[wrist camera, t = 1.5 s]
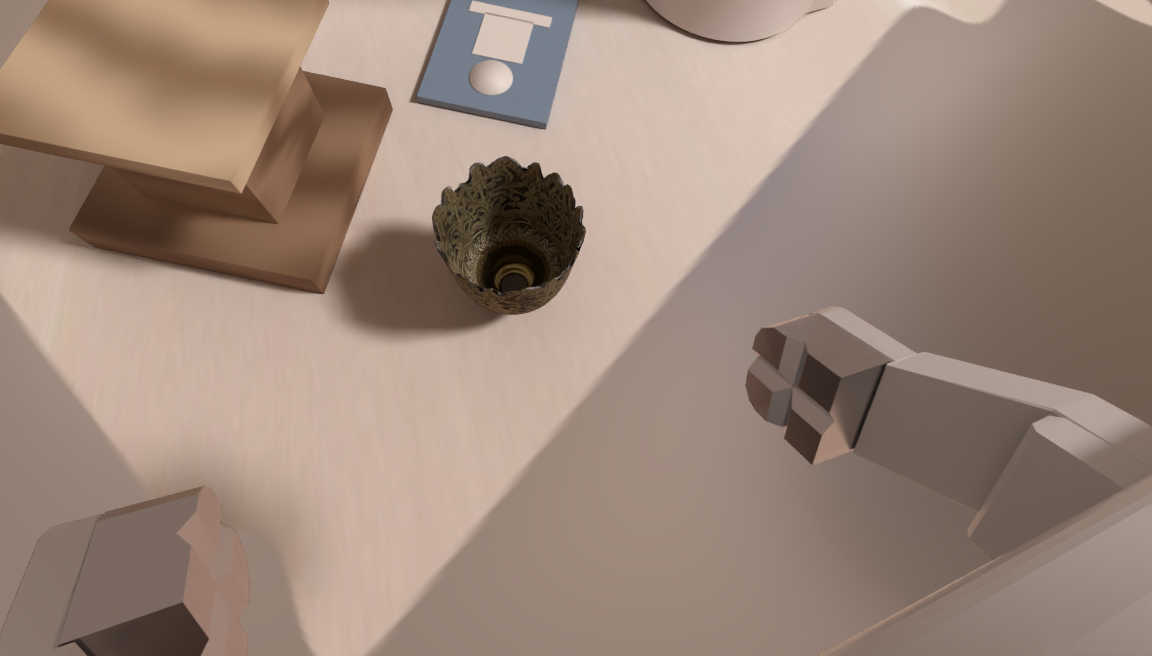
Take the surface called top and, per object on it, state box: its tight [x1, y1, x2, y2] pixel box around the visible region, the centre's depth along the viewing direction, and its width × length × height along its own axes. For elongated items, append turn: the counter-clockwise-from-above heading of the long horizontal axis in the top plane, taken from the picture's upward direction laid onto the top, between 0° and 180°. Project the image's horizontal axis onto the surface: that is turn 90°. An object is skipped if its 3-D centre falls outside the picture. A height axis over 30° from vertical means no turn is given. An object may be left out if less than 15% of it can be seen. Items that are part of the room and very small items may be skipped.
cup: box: [432, 156, 586, 315], centre depth 31 cm, size 8×7×8 cm
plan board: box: [417, 0, 578, 129], centre depth 41 cm, size 12×9×1 cm
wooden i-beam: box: [0, 0, 393, 294], centre depth 32 cm, size 14×14×10 cm
